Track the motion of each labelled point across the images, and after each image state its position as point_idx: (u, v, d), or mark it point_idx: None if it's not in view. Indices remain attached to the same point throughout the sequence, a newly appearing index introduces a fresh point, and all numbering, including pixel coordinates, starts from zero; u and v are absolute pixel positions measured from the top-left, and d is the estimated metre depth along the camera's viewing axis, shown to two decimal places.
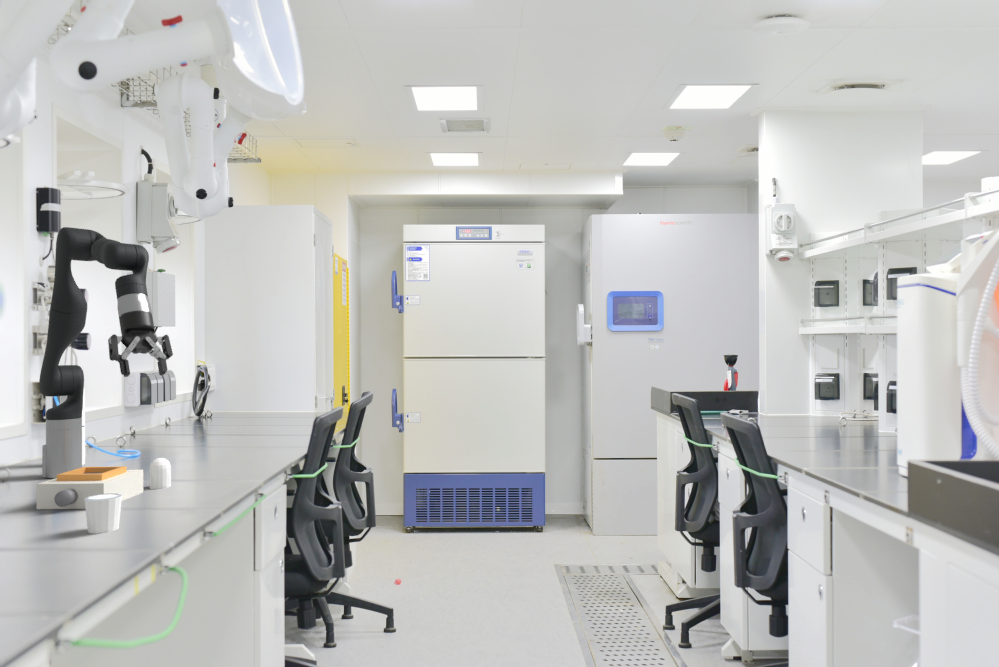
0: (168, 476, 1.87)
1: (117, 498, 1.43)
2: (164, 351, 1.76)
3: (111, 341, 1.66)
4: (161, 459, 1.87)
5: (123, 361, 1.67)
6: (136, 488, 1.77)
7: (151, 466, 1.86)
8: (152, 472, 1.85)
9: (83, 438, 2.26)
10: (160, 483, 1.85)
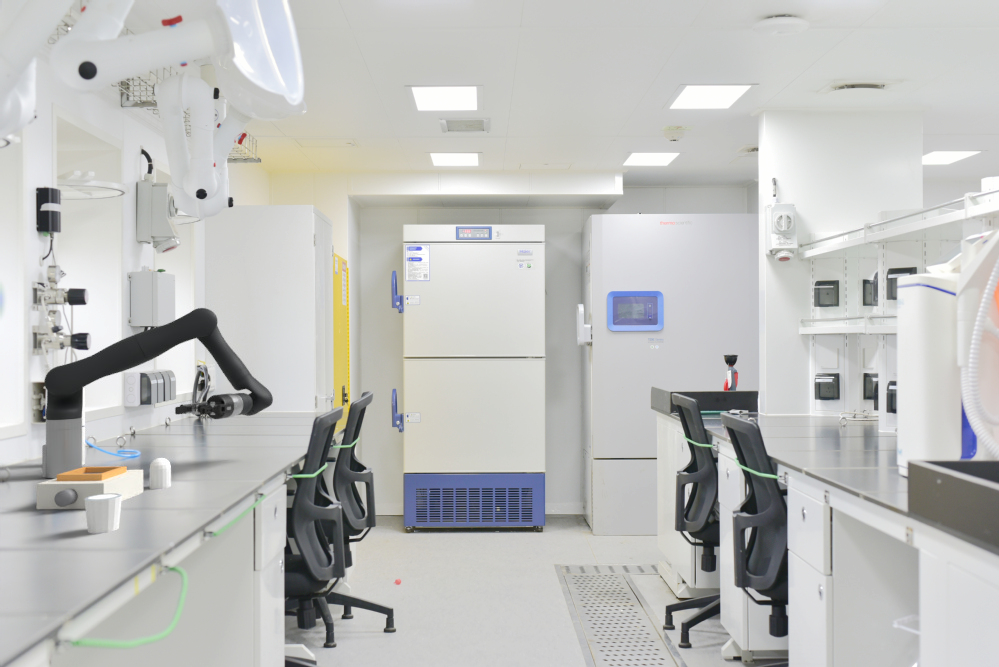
0: (168, 476, 1.87)
1: (117, 498, 1.43)
2: None
3: (228, 410, 2.05)
4: (161, 459, 1.87)
5: None
6: (136, 488, 1.77)
7: (151, 466, 1.86)
8: (152, 472, 1.85)
9: (83, 438, 2.26)
10: (160, 483, 1.85)
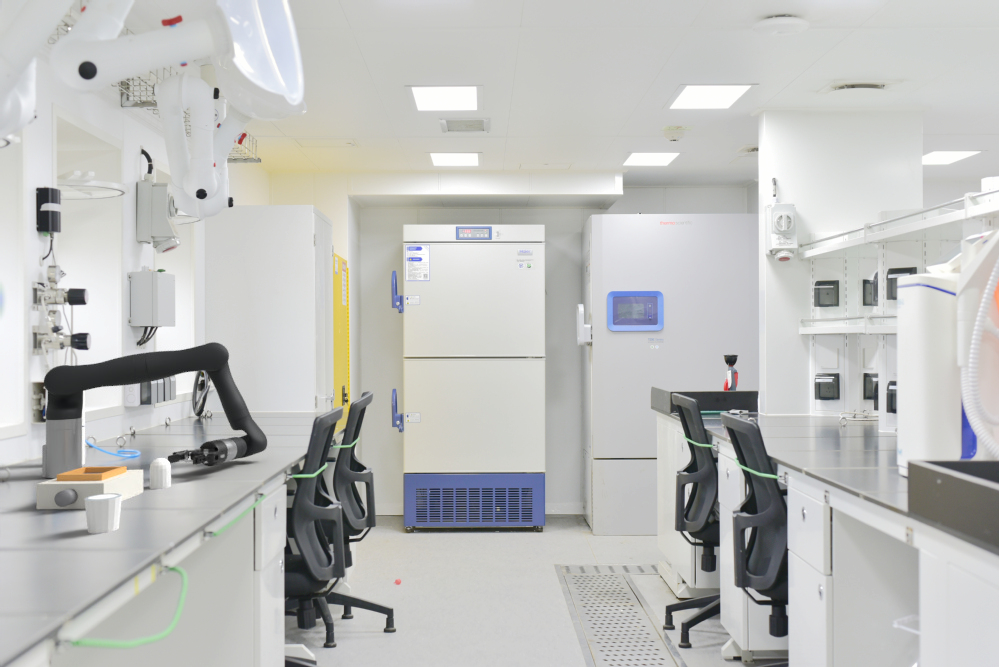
0: (168, 476, 1.87)
1: (117, 498, 1.43)
2: (179, 453, 2.04)
3: (221, 458, 2.02)
4: (161, 459, 1.87)
5: None
6: (136, 488, 1.77)
7: (151, 466, 1.86)
8: (152, 472, 1.85)
9: (83, 438, 2.26)
10: (160, 483, 1.85)
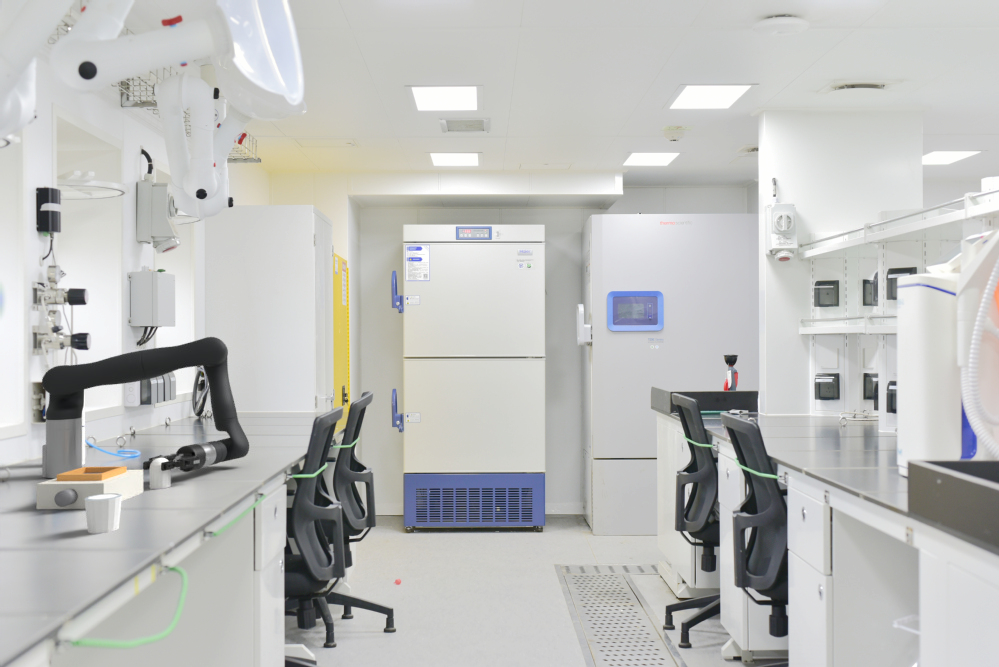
0: (168, 476, 1.87)
1: (117, 498, 1.43)
2: None
3: (195, 464, 1.92)
4: (161, 459, 1.87)
5: None
6: (136, 488, 1.77)
7: (151, 466, 1.86)
8: (152, 472, 1.85)
9: (83, 438, 2.26)
10: (160, 483, 1.85)
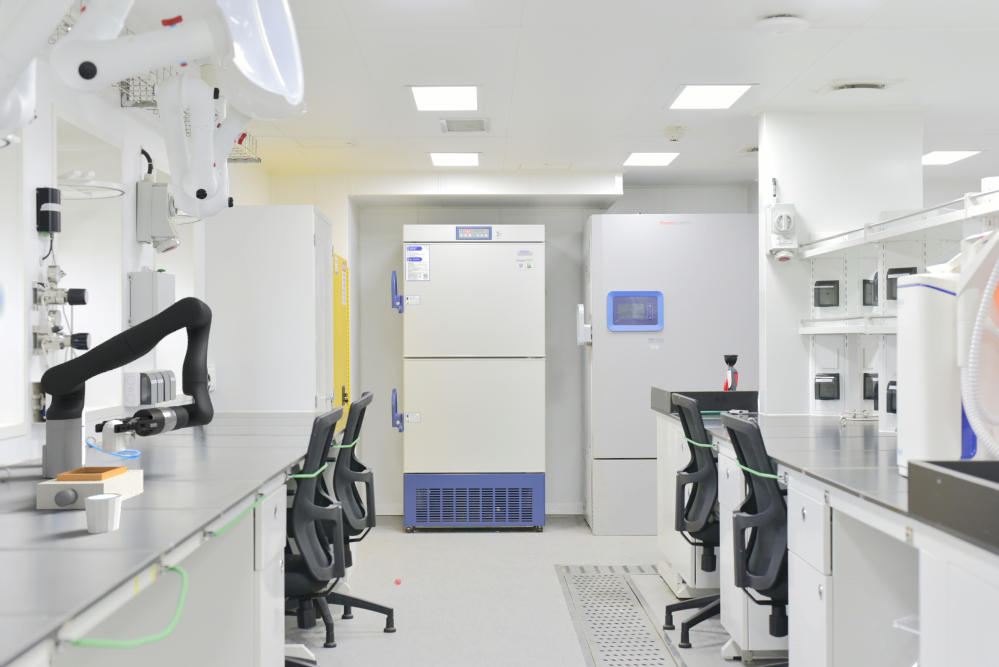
0: (122, 439, 1.76)
1: (117, 498, 1.43)
2: None
3: (151, 427, 1.81)
4: (115, 421, 1.76)
5: (127, 430, 1.77)
6: (136, 488, 1.77)
7: (104, 428, 1.75)
8: (105, 434, 1.74)
9: (83, 438, 2.26)
10: (113, 446, 1.74)
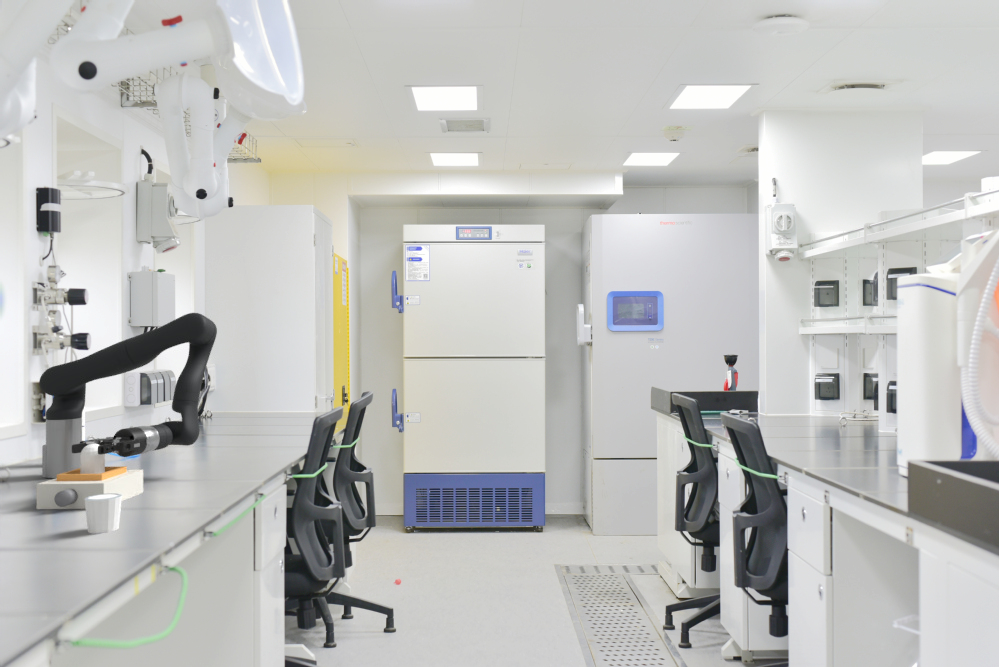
0: (101, 463, 1.71)
1: (117, 498, 1.43)
2: (88, 442, 1.78)
3: (135, 448, 1.76)
4: (93, 445, 1.71)
5: (112, 451, 1.72)
6: (136, 488, 1.77)
7: (82, 452, 1.70)
8: (83, 459, 1.69)
9: (83, 438, 2.26)
10: (91, 471, 1.70)
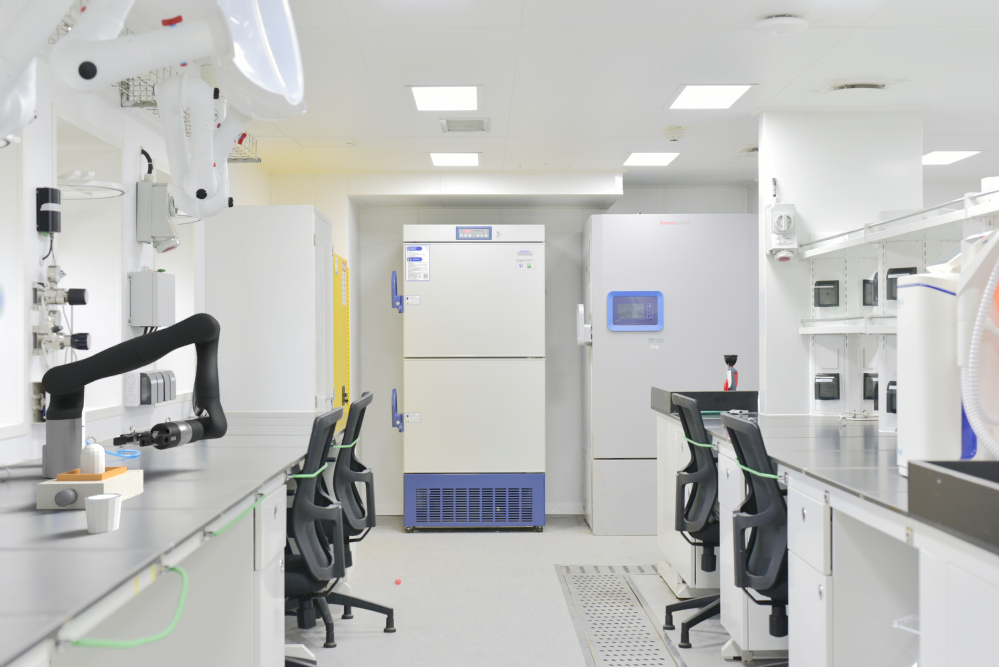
0: (101, 463, 1.71)
1: (117, 498, 1.43)
2: None
3: (172, 441, 1.89)
4: (93, 445, 1.71)
5: (152, 443, 1.85)
6: (136, 488, 1.77)
7: (82, 452, 1.70)
8: (83, 459, 1.69)
9: (83, 438, 2.26)
10: (91, 471, 1.70)
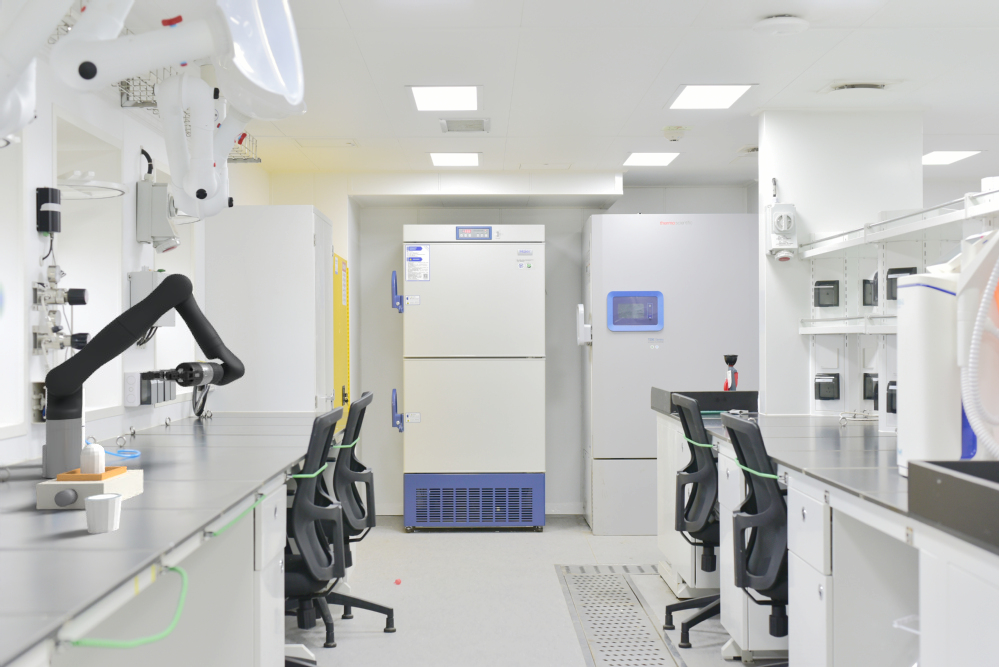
0: (101, 463, 1.71)
1: (117, 498, 1.43)
2: (154, 372, 2.04)
3: (196, 377, 2.03)
4: (93, 445, 1.71)
5: (178, 378, 1.98)
6: (136, 488, 1.77)
7: (82, 452, 1.70)
8: (83, 459, 1.69)
9: (83, 438, 2.26)
10: (91, 471, 1.70)
